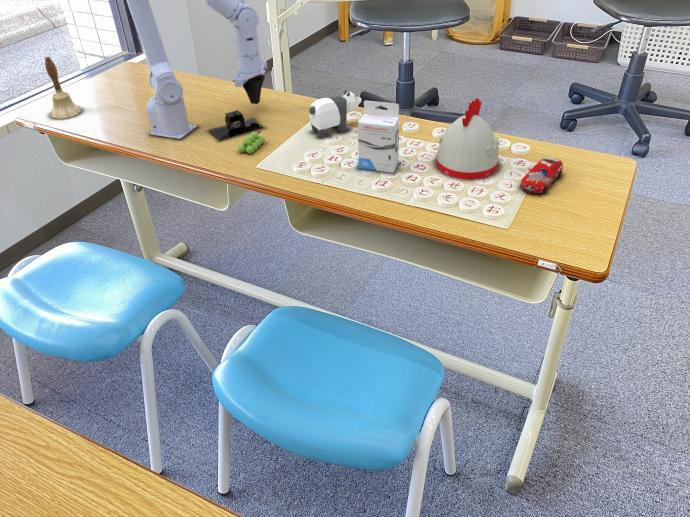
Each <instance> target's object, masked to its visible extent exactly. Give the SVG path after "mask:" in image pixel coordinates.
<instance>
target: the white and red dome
mask: <svg viewBox="0 0 690 517" xmlns="http://www.w3.org/2000/svg"><path fill="white" fill-rule="evenodd" d="M482 103H483V102H482V101H481V99H480V98H475V99H474V100H471V102H469V103H468V108H467V110H465V112H464V114H465V115H462V116H460V117H458V118H457V119H455V120H454V121H453V122H452V123H451V124H450V125H449V126H448V127H446V129H445V131H444V133H443V134H441V135H440V137H439V142H438V144H439V145H438V147H437V151H436V161H435V162H436V164H435V165H436V167H437V169H438V170H439V171H440V172H441V173H443V174H444V175H447V176H449V177H452V178H456V179H462V180H476V179H477V180H478V179H482V178H487V177H489V176H491V175H492V174H494V173H495V172H496V171H497V169H498V166H499V150H500V149H499V148H500V143H499V142H500V139H499V137H496V136H495V134H494V132H493V129H492V128H491V126H490V125H489V124H488V122H487V121H486V120H485V119H484V118H483V117H481V116H479V114H480V112H481V107H482Z"/></svg>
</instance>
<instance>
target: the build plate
mask: <svg viewBox="0 0 690 517" xmlns="http://www.w3.org/2000/svg"><path fill="white" fill-rule="evenodd" d="M224 115H225V116H224V122H225V125H223V126H219V127H216V128H211V129H209V131H208V132H209V133H211V134H212V136H214V137H215V138H216V139H217V140H218V141H219V142H221V141H225V140H228V139H232V138H236V137H238V136H242V135H246V134H248V133H252V132H257V131H260V130H263V129H264V126H262V125H261V124H260V123H258V121H256V120H255V119H254V118H247V119H246V118H245V116H244V115H243V113H242V111H240V110H238V109H237V110H232V111H229V112H225V113H224Z"/></svg>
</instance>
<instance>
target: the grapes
mask: <svg viewBox="0 0 690 517" xmlns="http://www.w3.org/2000/svg"><path fill="white" fill-rule="evenodd" d="M260 133H262V131H261V130H258V131H252V132H250V134H248V135H247V136H246V137H244V138H243V140H242V143H241V144H239V146H238V147H237V150H238V151H239V152H240V153H241V154H242V153H247V154H249V155H251V154H253V153H254V152H255V151H257V149H258V148H259V147H261V146H262V144H264V143H265V138H264V136H262V135H260Z"/></svg>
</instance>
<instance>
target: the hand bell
mask: <svg viewBox="0 0 690 517" xmlns="http://www.w3.org/2000/svg"><path fill="white" fill-rule="evenodd" d="M44 66H45V71H46V73H47V75H48V76H49V78H50V79H51V81H52V84H53V87H54V91H55V93H54V94H52V96H51V99H52V104H53V105H52V106H53V107H52V110H51V111H50V117H51V118H53V119H56V120H66V119H70V118H73V117H76V116H78V115H79V114H81V113H82V108H81V106H78V105H77V104H75V103H74V101H73V99H72V98H71V95H70V94H69V92H67V91H63V89H62V86H61V84H60V81H59V73H58V70H57V69H58V68H57V66H56V64H55V62H54V61H53V60H52V58H51V56H45V57H44Z"/></svg>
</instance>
